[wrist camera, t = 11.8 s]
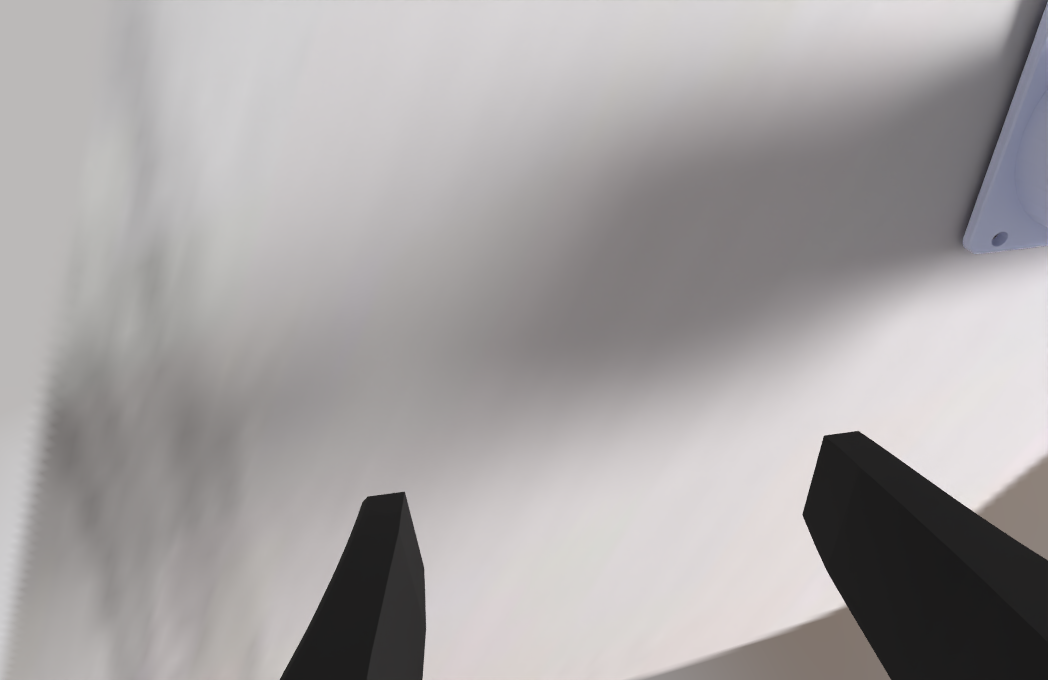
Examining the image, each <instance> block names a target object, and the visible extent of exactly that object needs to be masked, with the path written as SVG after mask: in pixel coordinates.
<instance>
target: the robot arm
mask: <svg viewBox="0 0 1048 680" xmlns="http://www.w3.org/2000/svg"><path fill="white" fill-rule="evenodd" d="M998 233H999V234H998ZM997 234H998V235H997ZM995 235H997V237H996V238H994V236H995ZM993 238H994V239H993ZM992 239H993V240H992ZM963 246H964V248H966V249H967V250H969V251H971V252H972V253H974V254H983V253H992V252H1000V251H1009V250H1017V249H1025V248H1034V247H1042V246H1048V2H1047V5H1046V8H1045V10H1044V13H1043V16H1042V19H1041V22H1040V24H1039V27H1038V30H1037V33H1036V36H1035V38H1034V41H1033V44H1032V47H1031V50H1030V52H1029V55H1028V58H1027V61H1026V64H1025V66H1024V69H1023V72H1022V75H1021V78H1020V80H1019V83H1018V86H1017V89H1016V92H1015V94H1014V97H1013V100H1012V103H1011V106H1010V108H1009V111H1008V114H1007V117H1006V120H1005V122H1004V125H1003V128H1002V131H1001V134H1000V136H999V139H998V142H997V145H996V148H995V150H994V153H993V156H992V159H991V162H990V164H989V167H988V170H987V173H986V176H985V178H984V181H983V184H982V187H981V190H980V192H979V195H978V198H977V201H976V204H975V206H974V209H973V212H972V215H971V218H970V220H969V223H968V226H967V229H966V232H965V234H964V237H963ZM803 517H804V520H805V522H806V525H807V527H808V529H809V532H810V534H811V536H812V539H813V541H814V544H815V546H816V548H817V550H818V553H819V555H820V557H821V559H822V561H823V563H824V566H825V568H826V570H827V572H828V574H829V575H830V577H831V579H832V581H833V582H834V584H835V586H836V588H837V589H838V591H839V593H840V594H841V596H842V598H843V599H844V601H845V603H846V605H847V606H848V608H849V610H850V611H851V613H852V615H853V616H854V618H855V620H856V621H857V623H858V625H859V626H860V628H861V630H862V631H863V633H864V635H865V637H866V638H867V640H868V642H869V643H870V645H871V646H872V648H873V650H874V652H875V653H876V655H877V657H878V658H879V660H880V662H881V663H882V665H883V666H884V668H885V670H886V671H887V673H888V675H889V677H890V678H891V680H1048V561H1047V560H1046V559H1045V558H1043V557H1041V556H1040V555H1038V554H1036V553H1035V552H1033V551H1032V550H1030V549H1029V548H1027V547H1026V546H1024V545H1022V544H1021V543H1019V542H1018V541H1016V540H1015V539H1013V538H1012V537H1010V536H1008V535H1007V534H1006V533H1004V532H1003V531H1001V530H1000V529H998V528H997V527H995V526H994V525H992V524H991V523H989V522H988V521H986V520H985V519H983V518H982V517H980V516H979V515H977V514H976V513H974V512H973V511H972V510H970V509H969V508H967V507H966V506H964V505H963V504H961V503H960V502H958V501H957V500H956V499H954V498H953V497H951V496H950V495H948V494H947V493H946V492H944V491H943V490H941V489H940V488H939V487H937V486H936V485H934V484H933V483H931V482H930V481H929V480H927V479H926V478H924V477H923V476H922V475H920V474H919V473H917V472H916V471H915V470H913V469H912V468H910V467H909V466H908V465H906V464H905V463H903V462H902V461H901V460H899V459H898V458H896V457H895V456H894V455H892V454H891V453H889V452H888V451H887V450H885V449H884V448H882V447H881V446H879V445H878V444H877V443H875V442H874V441H872V440H871V439H869V438H868V437H866V436H865V435H863V434H862V433H860V432H859V431H855V432H848V433H840V434H833V435H825V436H824V438H823V441H822V445H821V449H820V452H819V456H818V460H817V463H816V467H815V471H814V474H813V478H812V482H811V485H810V489H809V493H808V496H807V500H806V504H805V507H804V511H803ZM425 635H426V612H425V579H424V566H423V562H422V558H421V554H420V550H419V546H418V542H417V538H416V534H415V530H414V526H413V522H412V518H411V514H410V511H409V507H408V503H407V499H406V495H405V492H399V493H392V494H384V495H377V496H369V497H367V498H366V499H365V500H364V501H363V502H362V505H361V508H360V511H359V514H358V517H357V519H356V522H355V524H354V527H353V530H352V532H351V535H350V537H349V540H348V542H347V545H346V547H345V549H344V552H343V554H342V556H341V559H340V561H339V563H338V565H337V568H336V570H335V572H334V574H333V577H332V579H331V581H330V583H329V585H328V587H327V589H326V591H325V593H324V596H323V598H322V600H321V602H320V604H319V606H318V608H317V610H316V612H315V614H314V616H313V618H312V620H311V622H310V624H309V626H308V628H307V630H306V632H305V634H304V636H303V638H302V640H301V641H300V643H299V645H298V647H297V649H296V651H295V653H294V654H293V656H292V658H291V660H290V662H289V664H288V665H287V667H286V669H285V671H284V673H283V675H282V677H281V678H280V680H422V677H423V663H424V649H425Z"/></svg>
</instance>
